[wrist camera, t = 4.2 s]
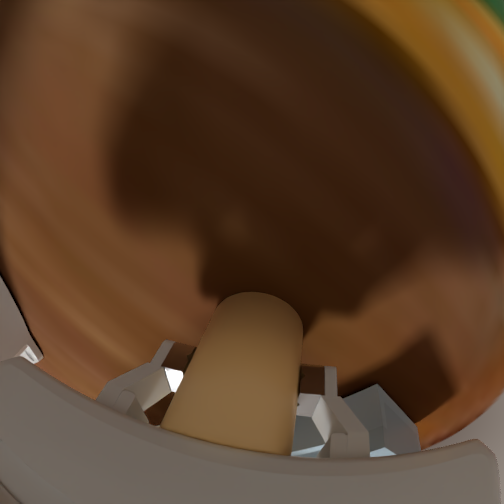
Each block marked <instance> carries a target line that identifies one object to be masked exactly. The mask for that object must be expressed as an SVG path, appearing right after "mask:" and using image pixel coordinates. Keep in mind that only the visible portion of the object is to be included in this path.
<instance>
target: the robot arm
mask: <svg viewBox="0 0 504 504" xmlns="http://www.w3.org/2000/svg"><path fill="white" fill-rule="evenodd" d="M196 349H197V347H194V346H190V345H186V344H182V343H179V342H174V341H171V340H167V339H166V340H165V341H163V343H162V345H161V346H160V348H159V349H158V351H157V353H156V354H155V356H154V357H153V359H152V361H151V362H150V363H145V364H143V365H141V366H139V367H137V368H135V369H133V370H131V371H129V372H127V373H125V374H123V375H121V376H119V377H117V378H115V379H113V380H111V381H108V382H107V384H106V385H105V387H104V388H103V390H102V391H101V393H100V394H99V396H98V397H97V399H96V400H93V399H91V398H89V397H88V396H86V395H84V394H82V393H80V392H78V391H76V390H75V389H73V388H71V387H69V386H67V385H66V384H64V383H62V382H61V381H59V380H57V379H56V378H54V377H53V376H51V375H49V374H48V373H46V372H45V371H43V370H42V369H40V368H39V367H37V366H36V365H34V363H37V362H39V361H40V360H41V359H42V358H43V355H42V353H41V352H40V350H39V349H38V347H37V346H36V344H35V342H34V341H33V339H32V338H31V336H30V334H29V332H28V330H27V327H26V325H25V322H24V320H23V318H22V316H21V314H20V312H19V310H18V308H17V306H16V304H15V302H14V300H13V298H12V296H11V294H10V293H9V291H8V289H7V287H6V285H5V284H4V282H3V280H2V278H1V277H0V504H501V498H500V497H501V492H500V477H499V470H498V463H497V459H496V456H495V454H494V453H493V452H492V451H491V450H490V449H489V448H488V447H487V446H486V445H485V444H484V443H482V442H481V441H480V440H478V439H472V440H468V441H465V442H461V443H457V444H453V445H449V446H445V447H441V448H436V449H430V450H425V451H419V452H413V453H406V454H399V455H390V456H379V457H370V444H369V432H368V431H367V429H366V428H365V427H364V426H363V424H362V423H361V422H360V421H359V419H358V418H357V417H356V416H355V414H354V413H353V412H352V410H351V409H350V408H349V407H348V405H347V404H346V403H345V402H344V400H343V399H342V398H341V397H338V396H337V371H336V367H331V366H320V365H308V364H302V365H301V369H300V382H299V392H298V403H297V413H296V415H298V416H307V417H312V420H313V421H314V423H315V425H316V427H317V429H318V430H319V432H320V434H321V436H322V437H323V439H324V441H325V445H324V446H323V448H322V449H321V450H320V452H319V453H318V454H317V457H316V458H313V457H298V456H286V455H277V454H269V453H262V452H255V451H249V450H243V449H238V448H233V447H228V446H223V445H219V444H215V443H210V442H206V441H202V440H199V439H195V438H191V437H188V436H184V435H181V434H178V433H175V432H172V431H168V430H165V429H162V428H160V427H157V426H154V425H151V424H148V423H149V421H148V418H147V417H146V415H145V413H144V411H145V410H146V409H147V408H149V407H150V406H152V405H153V404H155V403H156V402H158V401H159V400H160V399H162V398H163V397H165V396H166V395H168V394H169V393H170V392H171V391H173V392H176V390H177V388H178V386H179V384H180V382H181V380H182V378H183V376H184V374H185V372H186V370H187V367H188V365H189V363H190V361H191V359H192V357H193V355H194V353H195V351H196Z"/></svg>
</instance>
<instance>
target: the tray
mask: <svg viewBox="0 0 504 504" xmlns="http://www.w3.org/2000/svg"><path fill="white" fill-rule="evenodd" d="M343 400H344V402H345V403H346V404H347V405H348V407H349V408H350V409H351V410H352V412H353V413H354V414H355V416H356V417H357V418H358V419H359V421H360V422H361V423H362V424H363V426H364V427H365V428H366V429H367V431H368V432H369V444H370V457H379V456H390V455H399V454H406V453H413V452H419V451H421V449H420V442H419V436H418V430H417V426H416V425H415V424H414V423H413V422H412V421H411V420H410V419H409V417H408V416H407V415H406V414H405V413H404V412H403V411H402V410H401V409H400V408H399V407H398V406H397V405H396V403H395V402H394V401H393V400H392V399H391V398H390V397H389V396H388V395H387V394H386V393H385V392H384V390H383V389H382V388H381V387H380V386H379V385H378V384H375V385H373V386H371V387H369V388H367V389H364V390H362V391H360V392H358V393H355V394H353V395H350V396H348V397H345V398H343ZM324 445H325V441H324V439H323V437H322V436H321V434H320V432H319V430H318V429H317V427H316V425H315V423H314V421H313V420H312V417H307V416H298V415H296V422H295V430H294V438H293V446H292V453H291V456H298V457H313V458H316V457H317V454H318V453H319V452H320V450H321V449H322V448H323V446H324Z"/></svg>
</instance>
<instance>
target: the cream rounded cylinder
mask: <svg viewBox="0 0 504 504" xmlns="http://www.w3.org/2000/svg"><path fill="white" fill-rule="evenodd" d="M302 343H303V325H302V321H301V319H300V317H299V315H298V313H297V312H296V311H295V310H294V309H293V308H292V307H291V306H290V305H289V304H288V303H286V302H285V301H283V300H281V299H280V298H278V297H275V296H273V295H269V294H266V293H261V292H242V293H238V294H234V295H232V296H229V297H228V298H226V299H224V300H223V301H222V302H221V303H220V304H219V305H218V306H217V308H216V309H215V311H214V314H213V316H212V318H211V320H210V322H209V324H208V326H207V328H206V330H205V332H204V334H203V336H202V338H201V340H200V342H199V345H198V347H197V349H196V351H195V353H194V355H193V357H192V359H191V361H190V363H189V365H188V367H187V370H186V372H185V374H184V376H183V378H182V380H181V382H180V384H179V386H178V388H177V390H176V393H175V395H174V397H173V399H172V401H171V403H170V405H169V407H168V409H167V411H166V414H165V416H164V418H163V420H162V422H161V424H160V426H159V427H160V428H162V429H165V430H168V431H172V432H175V433H178V434H181V435H184V436H188V437H191V438H195V439H199V440H202V441H206V442H210V443H215V444H219V445H223V446H228V447H233V448H238V449H243V450H249V451H255V452H262V453H269V454H277V455H286V456H291V453H292V446H293V438H294V430H295V422H296V413H297V403H298V392H299V382H300V369H301V358H302Z"/></svg>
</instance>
